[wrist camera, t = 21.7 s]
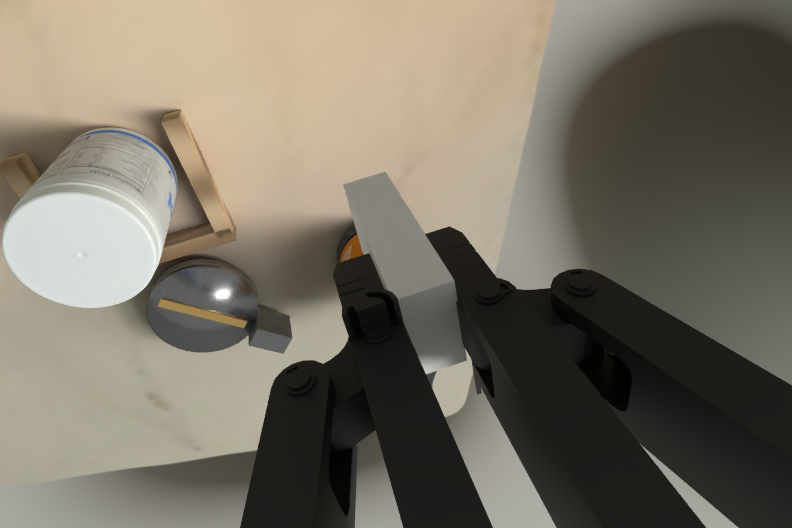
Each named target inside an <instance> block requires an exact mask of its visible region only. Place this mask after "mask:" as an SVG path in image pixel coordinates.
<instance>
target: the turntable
mask: <svg viewBox="0 0 792 528" xmlns="http://www.w3.org/2000/svg"><path fill="white" fill-rule="evenodd" d="M147 318H148V322H149V324H150V326H151V328H152V329H153V331H154V332H155V333H156V335H157V336H158V337H160V338H161V339H162V340H163V341H165V342H166V343H168V344H170V345H172V346H174V347H176V348H179V349H182V350H186V351H191V352H214V351H219V350H223V349H226V348H229V347H231V346H233V345H235V344H237V343H239V342H240V341H241V340H243V339H244V338H245V337H246V336H247V335H248V334H249V346H253V347H257V348H262V349H266V350H270V351H274V352H279V353H284V352H285V350H286V348H287V346H288V345H289V343H290V341H291V339H292V332H291V324H290V317H289V315H285V314H282V313H278V312H275V311H271V310H267V309H264V308H260V307H258V296H257V291H256V288H255V286H254V284H253V283H252V281H251V280H250V278H249V277H248V276H247V275H246V274H245V273H244V272H242V271H241V270H240V269H238V268H236V267H235V266H233V265H231V264H228V263H225V262H222V261H218V260H211V259H195V260H189V261H185V262H182V263H179V264H177V265H174V266H172V267H171V268H169V269H167V270H166V271H165V272H163V273H162V274H161V275H160V276H159V277H158V278H157V280H156V281H155V282H154V284H153V286H152V289H151V292H150V296H149V300H148V304H147Z"/></svg>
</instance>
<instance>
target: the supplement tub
mask: <svg viewBox="0 0 792 528" xmlns="http://www.w3.org/2000/svg"><path fill="white" fill-rule="evenodd" d="M177 189H178V182H177V175H176V171H175V168H174V165H173V163H172V161H171V160H170V158H169V157H168V155H167V154H166V153H165V152H164V150H163V149H162V148H161V147H160V146H158V145H157V144H156V143H155V142H153V141H152V140H151V139H149V138H147V137H146V136H144V135H142V134H139V133H137V132H134V131H131V130H128V129H123V128H113V127H108V128H98V129H94V130H91V131H88V132H86V133H84V134H82V135H80V136H78V137H77V138H76V139H74V140H73V141H72V142H71V143H70V144H69V145H68V146H67V147H66V148H65V150H64V151H63V152H62V153H61V154H60V155H59V156H58V157H57V158H56V160H55V161H54V162H53V163H52V164H51V165H50V166H49V167H48V169H47V170H46V171H45V172H44V173H43V174H42V175H41V176H40V178H39V179H38V180H37V181H36V182H35V183H34V184H33V185H32V186H31V188H30V189H29V190H28V191H27V192H26V193H25V194H24V196H23V197H22V198H21V199H20V200H19V202H18V203H17V204H16V205H15V207H14V208H13V209H12V211H11V213H10V215H9V218H8V219H7V221H6V223H5V225H4V228H3V231H2V237H1V247H2V252H3V256H4V258H5V261H6V263H7V265H8V267H9V268H10V270H11V271H12V273H13V274H14V275H15V276H16V278H17V279H18V280H19V281H21V282H22V283H23V284H24V285H25V286H26V287H28V288H29V289H30V290H32V291H33V292H35V293H36V294H38V295H40V296H42V297H44V298H46V299H49V300H51V301H54V302H56V303H60V304H63V305H67V306H73V307H80V308H100V307H107V306H112V305H116V304H119V303H122V302H124V301H126V300H129V299H131V298H132V297H134V296H135V295H137V294H138V293H139V292H141V291H142V290H143V289H144V288H145V287H146V286H147V284H148V283H149V282H150V280H151V278H152V276H153V274H154V272H155V271H156V269H157V266H158V264H159V261H160V258H161V254H162V250H163V247H164V243H165V239H166V235H167V231H168V227H169V223H170V219H171V215H172V211H173V207H174V203H175V199H176V195H177Z"/></svg>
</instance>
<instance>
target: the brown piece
mask: <svg viewBox="0 0 792 528" xmlns="http://www.w3.org/2000/svg"><path fill="white" fill-rule="evenodd" d="M161 124H162V126H163V128H164V130H165V132H166V134H167V136H168V138H169V140H170V142H171V144H172V146H173V148H174V150H175V152H176V154H177V156H178V158H179V160H180V162H181V164H182V166H183V168H184V170H185V172H186V174H187V177H188V179H189V181H190V183H191V185H192V187H193V189H194V191H195V193H196V195H197V197H198V199H199V201H200V203H201V205H202V207H203V209H204V211H205V213H206V215H207V217H208V219H209V221H210V223H206V224H203V225H200V226H196V227H193V228H190V229H186V230H183V231H180V232H176V233H173V234H170V235H166V239H165V243H164V247H163V250H162V254H161V258H160V261H159V264H160V263H163V262H166V261H170V260H173V259H176V258H179V257H183V256H186V255H189V254H193V253H196V252H199V251H202V250H206V249H209V248H212V247H216V246H219V245H222V244H225V243H229V242H232V241H235V240H236V228H235V225H234V223H233V221H232V219H231V217H230V215H229V212H228V210H227V208H226V206H225V204H224V201H223V199H222V197H221V195H220V193H219V191H218V188H217V186H216V184H215V182H214V180H213V177H212V175H211V173H210V171H209V169H208V167H207V164H206V162H205V160H204V158H203V156H202V153H201V151H200V149H199V147H198V145H197V143H196V140H195V138H194V136H193V134H192V132H191V129H190V127H189V125H188V123H187V121H186V119H185V116H184V114H183V112H182V110H178V111H174V112H171V113H167V114H165V115H164V117H163V119H162V122H161ZM0 173H1V174H2V176H3V177H4V178H5V180H6V181H7V182H8V184H9V185H10V187H11V188H12V189H13V191H14V192H15V193H16V195H17V196H18V197H19V199H21V198H22V197H23V196H24V194H25V193H26V192H27V191H28V190H29V189H30V188H31V186H32V185H33V184H34V183H35V182H36V181H37V180H38V179H39V178H40V176H41V175H42V174H41V173H40V171H39V170H38V169H37V167H36V166H35V164H34V163H33V161H32V160H31V158H30V157H29V155H28V154H27V152H24V153H20V154H17V155H13V156H9V157H8V158H6V159H5V160H4V161H3V162H2V163H1V164H0Z"/></svg>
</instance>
